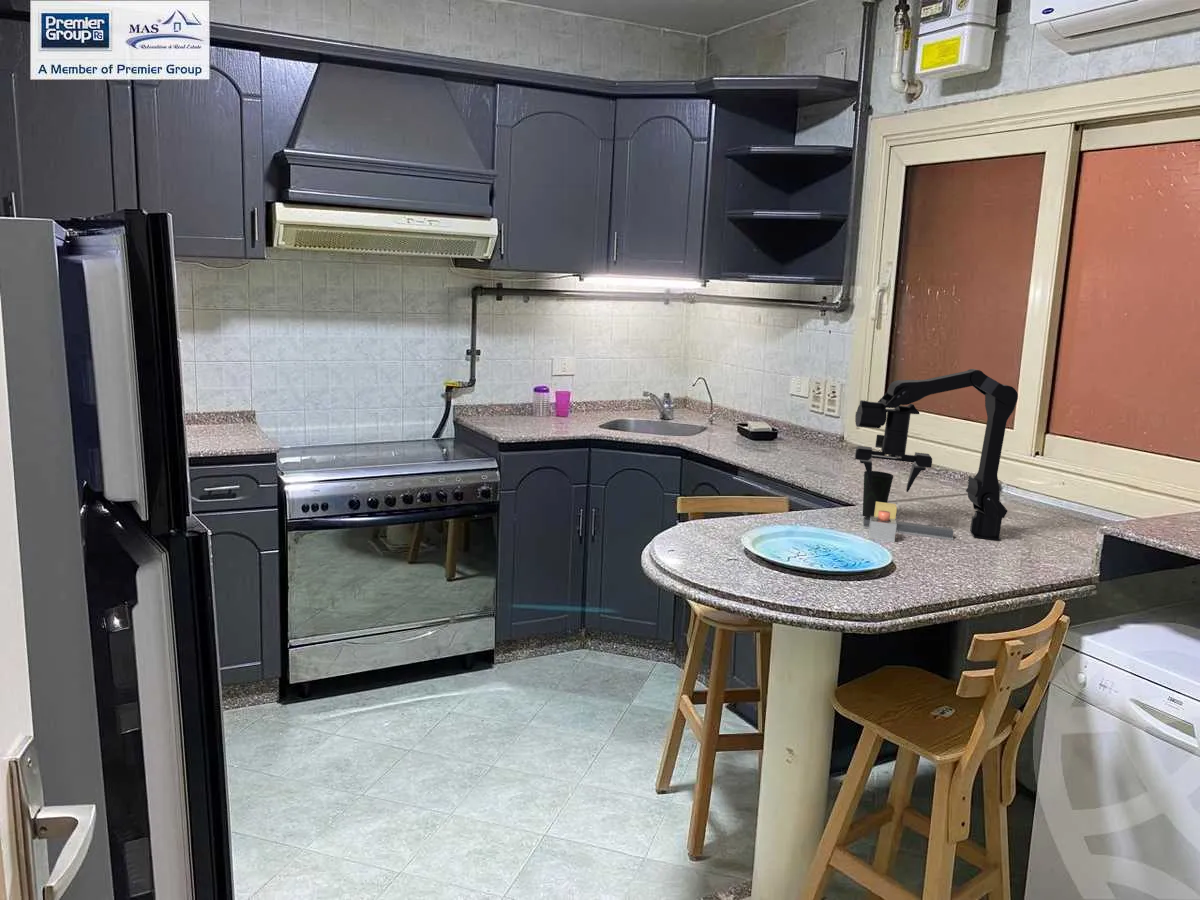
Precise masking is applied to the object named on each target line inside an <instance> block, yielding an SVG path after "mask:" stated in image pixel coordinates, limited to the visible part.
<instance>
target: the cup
mask: <svg viewBox="0 0 1200 900" xmlns="http://www.w3.org/2000/svg"><path fill="white" fill-rule="evenodd" d="M893 479H894V474H892V473H890V472H889V473H888V472H884V471H879V470H872V485H871V487H869V481H868V475H867V471H866V470H865V471H864V472H863V496H862V516H863V517H869V518H870V517H871V516H874V511H875V504H876V502H884V503H888V500H889V496H890V492H891V487H892V484H893Z"/></svg>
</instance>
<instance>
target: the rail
mask: <svg viewBox="0 0 1200 900" xmlns="http://www.w3.org/2000/svg"><path fill="white" fill-rule="evenodd" d="M869 524H870V518H869V517H865V516H863V521H862V526H863V529H867V530H869ZM896 524H897V527H896V533H897V534H904V535H913V536H920V537H926V538H933V539H934V538H935V539H943V540H950V541H954V530H953V528H952V527H944V526H943V527H942V526H936V525H929V524H922V523H921V524H920V523H915V522H914V523H912V522H905V521H898V520H896Z"/></svg>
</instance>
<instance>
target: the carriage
mask: <svg viewBox="0 0 1200 900" xmlns="http://www.w3.org/2000/svg"><path fill="white" fill-rule="evenodd" d="M897 509H898V507H897V504H896V503H890V502H887V503H884V502H876V504H875V511H874V516H875V517H878V513H879V511H888V512H890V519H895V520H896V516H897V511H898V510H897Z"/></svg>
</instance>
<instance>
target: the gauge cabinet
mask: <svg viewBox="0 0 1200 900" xmlns="http://www.w3.org/2000/svg"><path fill="white" fill-rule="evenodd" d="M896 521H897V520H896V518H895V519H890V520H889V521H881V520H878V517H875V516H871V517H870V524H869V529H868V539H869V540H876V541H882V542H889V543H895V539H896V527H897V524H896Z"/></svg>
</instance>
